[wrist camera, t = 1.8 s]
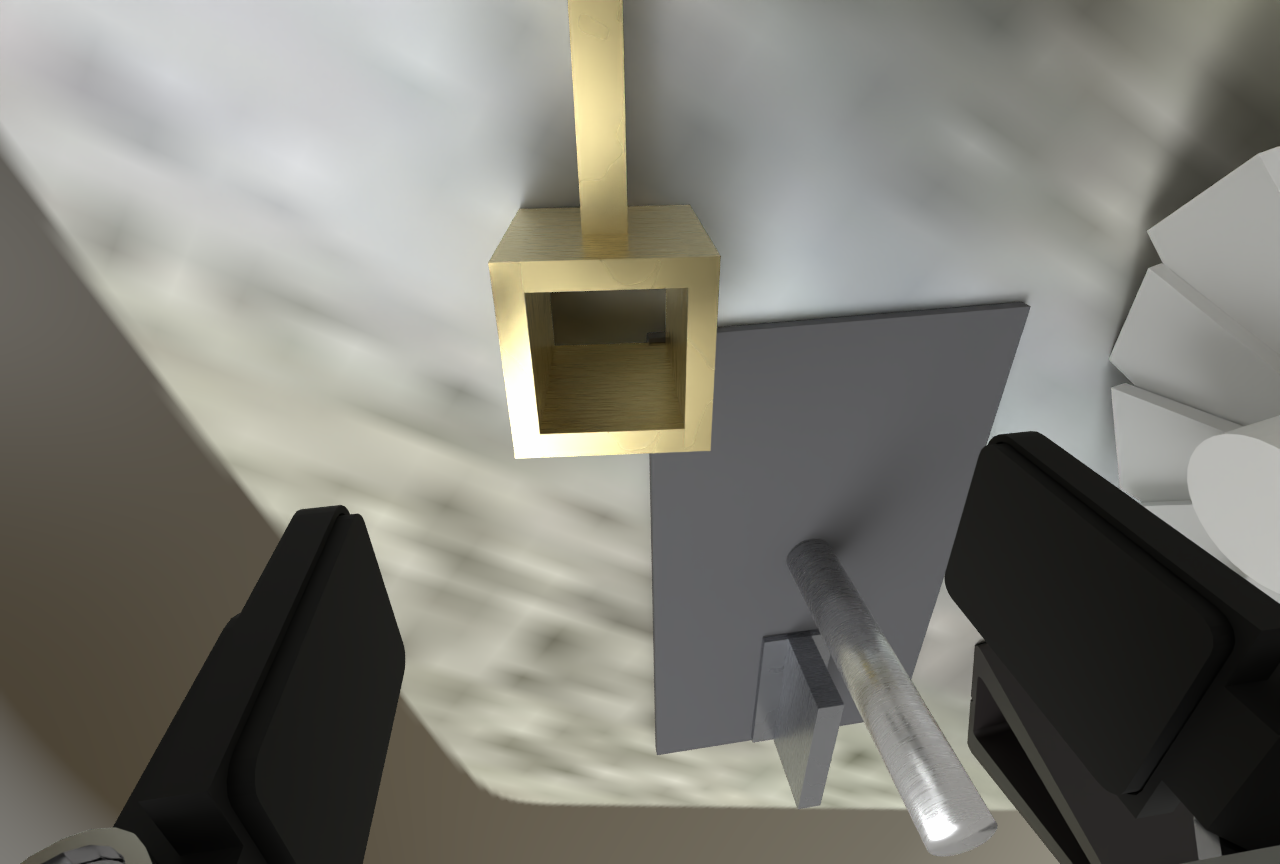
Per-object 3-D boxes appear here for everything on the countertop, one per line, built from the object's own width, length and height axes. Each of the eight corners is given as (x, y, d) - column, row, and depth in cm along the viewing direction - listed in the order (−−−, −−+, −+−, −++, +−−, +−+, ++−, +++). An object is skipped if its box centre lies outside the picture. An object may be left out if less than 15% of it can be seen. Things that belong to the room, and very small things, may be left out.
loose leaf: (472, -227, 12) (398, -387, 8) (700, -226, 12) (753, -384, 8) (536, 365, 18) (515, 458, 14) (685, 360, 18) (710, 450, 14)
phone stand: (975, 641, 29) (1211, 960, 19) (1099, 606, 29) (1402, 906, 19) (965, 745, 34) (1150, 1042, 24) (1072, 715, 34) (1302, 999, 24)
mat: (647, 333, 18) (649, 338, 18) (1022, 302, 20) (1030, 306, 19) (655, 747, 30) (657, 755, 29) (895, 709, 31) (898, 716, 31)
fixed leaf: (773, 543, 23) (912, 828, 15) (850, 534, 23) (1029, 807, 15) (750, 736, 30) (838, 1011, 21) (811, 726, 30) (921, 993, 21)
